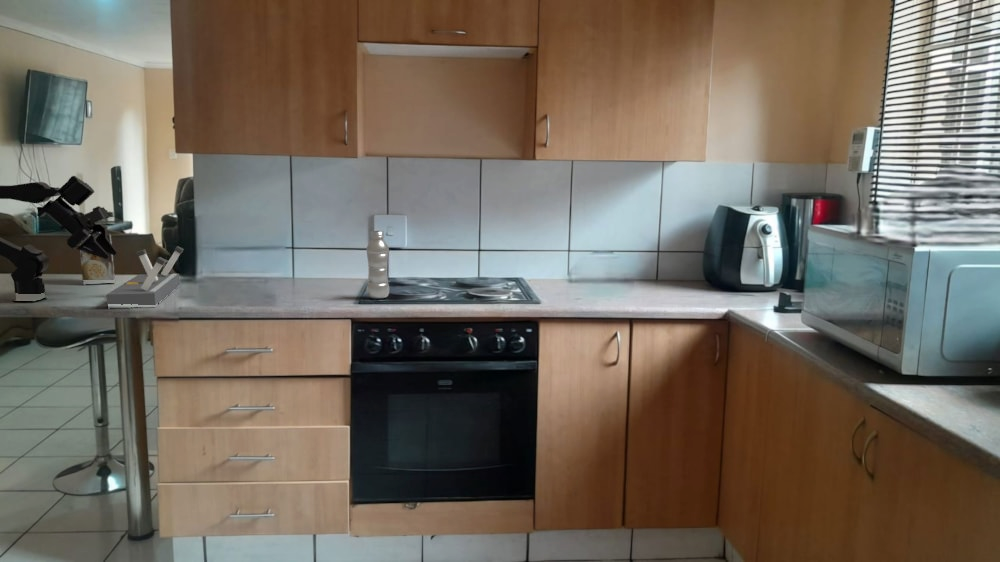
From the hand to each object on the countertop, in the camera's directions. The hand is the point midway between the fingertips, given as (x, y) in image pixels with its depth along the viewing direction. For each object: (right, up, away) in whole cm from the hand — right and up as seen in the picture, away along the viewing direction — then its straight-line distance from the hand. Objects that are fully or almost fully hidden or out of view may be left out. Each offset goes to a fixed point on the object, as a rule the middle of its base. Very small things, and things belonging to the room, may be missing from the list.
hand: (111, 255), depth 208 cm
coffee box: (-18, -8, +26) cm, 33 cm away
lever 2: (+7, -5, +16) cm, 19 cm away
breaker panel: (+8, -12, +4) cm, 15 cm away
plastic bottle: (+76, -13, +5) cm, 77 cm away
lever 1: (+14, -9, -9) cm, 19 cm away
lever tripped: (+11, -7, +4) cm, 13 cm away
